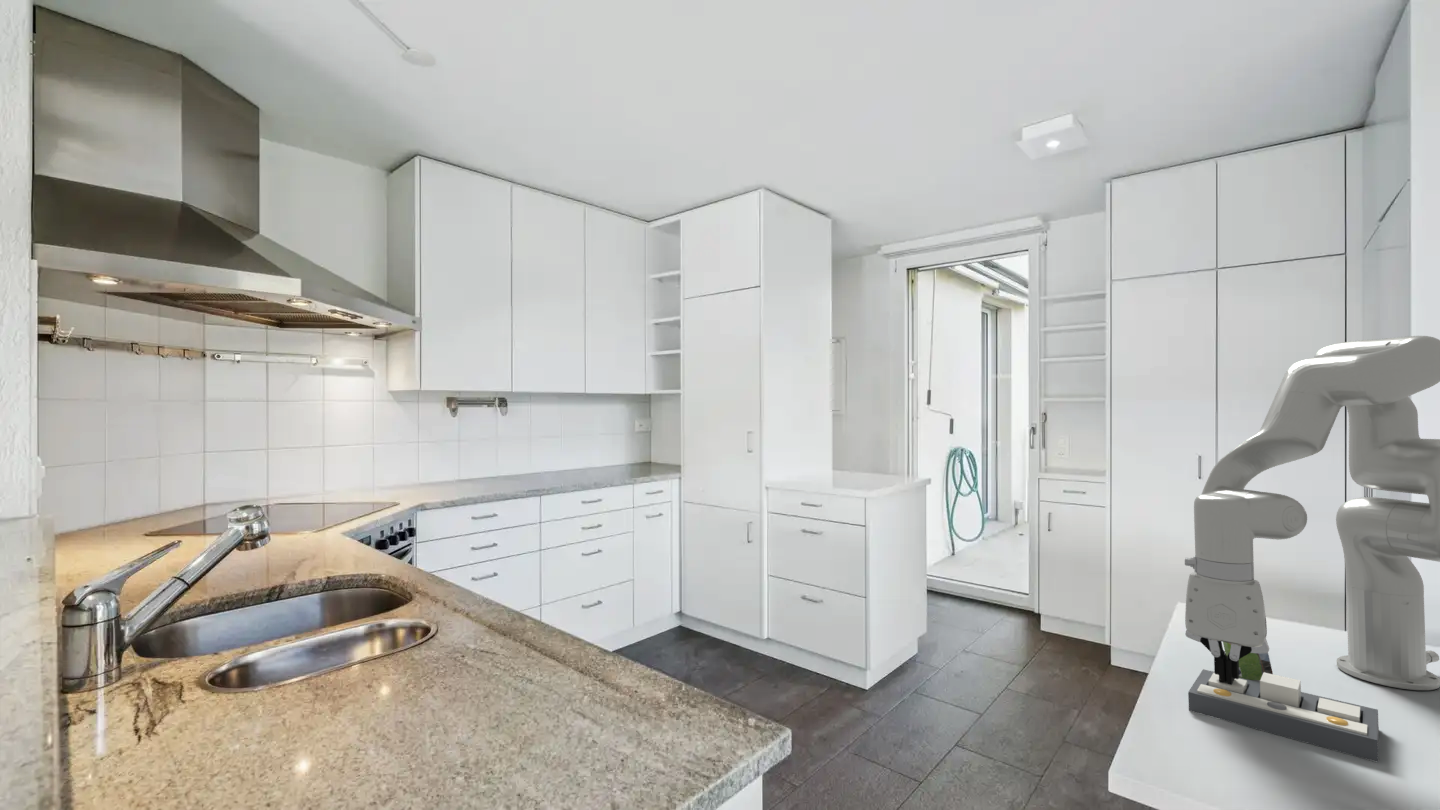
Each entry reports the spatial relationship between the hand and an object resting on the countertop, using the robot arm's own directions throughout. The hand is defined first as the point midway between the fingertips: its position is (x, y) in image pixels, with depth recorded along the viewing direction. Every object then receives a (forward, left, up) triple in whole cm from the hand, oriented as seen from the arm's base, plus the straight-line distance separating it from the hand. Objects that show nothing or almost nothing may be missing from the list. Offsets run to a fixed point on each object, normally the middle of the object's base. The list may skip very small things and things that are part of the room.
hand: (1226, 680), depth 102 cm
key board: (-2, +6, -4) cm, 8 cm away
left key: (0, 0, -3) cm, 3 cm away
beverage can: (-12, -6, -4) cm, 14 cm away
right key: (-7, +11, -3) cm, 13 cm away
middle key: (-3, +6, -1) cm, 7 cm away
